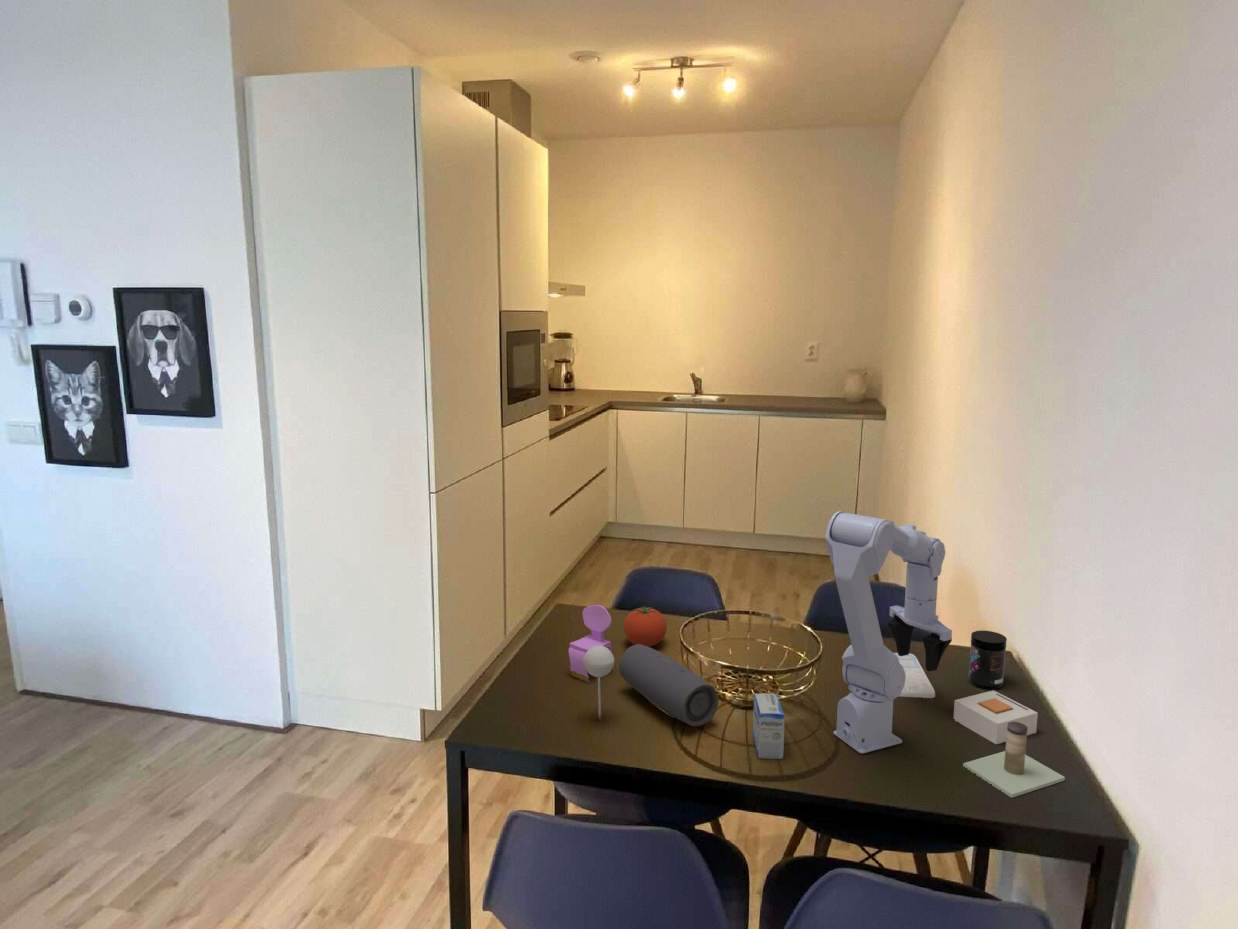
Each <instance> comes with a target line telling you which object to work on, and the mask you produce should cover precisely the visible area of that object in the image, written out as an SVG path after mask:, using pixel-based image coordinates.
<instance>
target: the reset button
mask: <svg viewBox="0 0 1238 929" xmlns="http://www.w3.org/2000/svg"><path fill="white" fill-rule="evenodd" d="M979 705H980V706H982V707H984V708H986V709H988V710H989V711H991V712H993V713H995V714H999V713H1003V712H1007V711H1010V710H1012V707H1011V706H1009V705H1007V704H1005V703H1003V702H1001V701H999V700H997V699H995V698H993V699H990V700H986V701H982V702H979Z"/></svg>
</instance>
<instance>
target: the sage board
mask: <svg viewBox="0 0 1238 929" xmlns="http://www.w3.org/2000/svg"><path fill="white" fill-rule="evenodd" d="M1004 761H1005V750H1004V751H1000V752H997V753H994V754H990V755H987V756H983V757H979V758H977V759H973V760H970V761H966V762H963V763H962V767H963V768H964V767H965V768H964V769H966V768H967V769H966V770H968V771H969V770H970V771H969V772H971V773H972V774H974V773H975V774H976V775H975V774H974V775H975V776H977V777H978V778H980V777H981V778H980V779H982V781H985V782H986V781H987V783H988V784H990V785H991V784H992V785H991V786H993V787H994V788H995V789H997V790H998V791H1000V790H1001V791H1000V792H1002V793H1004V794H1005V795H1006V796H1008V797H1010V798H1011V799H1012V798H1016V797H1018V796H1021V795H1025V794H1028V793H1031V792H1033V791H1037V790H1040V789H1043V788H1047V787H1049V786H1051V785H1057V784H1058V783H1061V782H1065V781H1066V780H1065V779H1066V777H1065V776H1064V775H1062V774H1060V773H1059V772H1057V771H1055V770H1053V769H1052V768H1050V767H1049V766H1046V765H1045V764H1043V763H1041V762H1039V761H1038V760H1035V759H1034V758H1032V757H1031V756H1028V755H1027V754H1025V763H1024V773H1023V774H1021V775H1014V774H1010V773H1008V772H1007V771H1005V770H1004Z"/></svg>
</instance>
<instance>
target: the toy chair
mask: <svg viewBox="0 0 1238 929" xmlns="http://www.w3.org/2000/svg"><path fill="white" fill-rule="evenodd" d="M582 618H583V619H582V620H583V622H584V625H585V627H587V628H588V629H589V631H591V633H590V634H588V635H585V636H584V637H582V638H580V639H577V640H574V641H571V642H570V643H569V648H568V657H569V662H570V663H569V664H570V669H569V670H571V671H575V672H576V673H578V674H582V675H584V676H586V677H587V678H589V679H590V676H589V675H588V674H589V673H588V672H587V671H586V669H585V667H584V663H583V658H584V656H585V654H586V652H587V651H588V650H589V649H590V648H592V647H594V646H604V647H606V648H608V649H609V650H610V651H611V652H612V650H613V646H612V644H611V641H610V640H606V639H605V631H606V630H608V629H609V628H610V627H611V625H612V617H611V615H610V613H609V612H608V610H607V608H606V607H604V606H603V605H600V604H591V605H588V606H586V607H584V608H583V610H582ZM613 666H614V667H615V664H614V665H613Z"/></svg>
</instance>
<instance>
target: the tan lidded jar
mask: <svg viewBox="0 0 1238 929" xmlns="http://www.w3.org/2000/svg"><path fill="white" fill-rule="evenodd" d="M1027 730H1028V728H1027V726H1026V725H1024V724H1022V723H1019V722H1009V723H1008V725H1007V737H1006V742H1005V750H1004V751H1005V761H1004V770H1005V771H1007V772H1008V773H1010V774H1014V775H1021V774H1023V773H1024V763H1025V755H1026V750H1027V739H1028V735H1027Z"/></svg>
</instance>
